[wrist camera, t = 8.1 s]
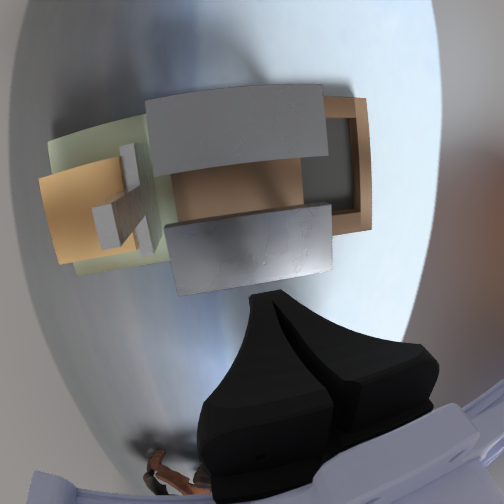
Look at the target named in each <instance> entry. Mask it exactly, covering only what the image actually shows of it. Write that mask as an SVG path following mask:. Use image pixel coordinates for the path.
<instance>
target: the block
mask: <svg viewBox="0 0 504 504" xmlns="http://www.w3.org/2000/svg"><path fill="white" fill-rule="evenodd" d="M39 184H40V190H41V195H42V200H43V205H44V209H45V214H46V218H47V222H48V226H49V230H50V234H51V238H52V241H53V245H54V248H55V252H56V255H57V258H58V262H59V265H60V264H65V263H71V262H76V261H82V260H87V259H93V258H98V257H104V256H110V255H115V254H121V253H127V252H133V251H137V249H138V246H137V241H136V237H135V233H134V230H133V232H132V233H131V234H130V236H129V237H128V238H127V240H126V241H125V242H124V243H123V245H122V246H121V247H117V248H112V249H106V250H101V246H100V242H99V238H98V234H97V230H96V226H95V222H94V217H93V213H92V207H94V206H96V205H97V204H99V203H101V202H102V201H104V200H106V199H107V198H109V197H111V196H113V195H114V194H116V193H118V192H120V191H121V190H123V189H125V188H126V187H125V182H124V176H123V170H122V163H121V156H117V157H113V158H109V159H105V160H101V161H97V162H93V163H89V164H86V165H82V166H79V167H75V168H72V169H68V170H65V171H62V172H58V173H55V174H52V175H49V176H46V177H43V178H40V179H39Z"/></svg>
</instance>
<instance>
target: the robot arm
mask: <svg viewBox="0 0 504 504" xmlns="http://www.w3.org/2000/svg"><path fill="white" fill-rule="evenodd" d="M249 304H250V315H249V321H248V326H247V330H246V333H245V337H244V340H243V343H242V345H241V348H240V350H239V352H238V354H237V356H236V358H235V360H234V362H233V364H232V366H231V368H230V369H229V371H228V372H227V374H226V375H225V377H224V378H223V380H222V381H221V383H220V384H219V385H218V387H217V388H216V389H215V390H214V391H213V393H212V394H211V395H210V396H209V397H208V398H207V399H206V400H205V401H204V403H203V406H202V410H201V413H200V417H199V422H198V428H197V449H198V455H199V458H200V460H201V462H202V463H203V465H204V467H205V468H206V470H207V472H208V473H209V475H210V481H211V489H212V493H210V494H196V495H132V494H119V493H109V492H100V491H92V490H86V489H80V488H76V486H75V485H74V484H73V483H71V482H70V481H68V480H67V479H65V478H63V477H61V476H57V475H52V474H48V473H44V472H40V471H34V473H33V477H32V481H31V485H30V489H29V495H28V499H27V503H26V504H504V495H503V493H502V492H501V490H500V489H499V487H498V486H497V484H496V483H495V481H494V480H493V478H492V477H491V475H490V474H489V473H488V471H487V470H486V468H485V467H486V466H487V465H488V464H490V463H491V462H492V461H493V460H494V459H495V458H496V457H497V456H498V455H499V454H501V453H502V452H503V451H504V379H502V380H501V381H500V382H499V383H497V384H496V385H495V386H493V387H492V388H491V389H489V390H488V391H487V392H485V393H484V394H482V395H481V396H480V397H478V398H477V399H475V400H474V401H472V402H471V403H469V404H468V405H466V406H465V407H463V408H462V409H461V408H460V406H458V405H457V404H455V403H450V404H448V405H445V406H442V407H440V408H438V409H436V410H434V411H431V410H432V409H433V407H434V406H433V404H432V402H431V401H430V400H429V397H430V394H431V392H432V390H433V388H434V386H435V383H436V381H437V378H438V374H439V364H438V362H437V360H436V359H435V358H434V357H433V356H432V355H431V354H430V353H429V352H428V351H427V350H426V349H425V348H424V347H423V346H422V345H421V344H411V343H402V342H394V341H389V340H384V339H379V338H375V337H371V336H367V335H364V334H361V333H358V332H355V331H352V330H349V329H347V328H344V327H342V326H340V325H337V324H335V323H333V322H331V321H329V320H327V319H325V318H323V317H321V316H320V315H318V314H316V313H314V312H313V311H311V310H310V309H308V308H306V307H305V306H303V305H302V304H300V303H299V302H298V301H296V300H295V299H293V298H292V297H291V296H289V295H288V294H287V293H285V292H284V291H282V290H275V291H270V292H264V293H259V294H253V295H251V296H250V297H249Z"/></svg>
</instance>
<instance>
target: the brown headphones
mask: <svg viewBox="0 0 504 504" xmlns="http://www.w3.org/2000/svg"><path fill="white" fill-rule="evenodd" d="M164 455H165V450H162V449H159V450H157V451H156V453H154V455H153V457H150V458H149V461H148V464H147V473H145V474H144V477H143V479H144V482H145V483H146V485H147V487H148V488H149V489H150V490H151V491H152V492H153V493H154V494H155V495H170V494H168V492H167V490H166V485H162V484H160V483H159V482H158V481H157V480H156V478H155V477H154V476H153V475H154V472H155V471H158V472H157V473H156V474H155V475H156V477H157V478H158V479H160V480H162V481H164V482H166V483H168V484H170V485H171V486H173V487H174V488H176V489H177V490H178V491H179V492H181V493H182V494H183V495H196V494H210V493H212V489H211V481H210V475H209V473H208V472H207V470H206V468H205V467H204V465H203V463H202V465H201V466H200V468H199V470H198V471H197V472H196V473H195V475H194V478H193V483H194V484H195V485H194V484H191V483H189V480H190V479H189V478H188V477H185V476H183V475H181V474H180V473H178V472H176V471H173V470H171V469H170V468H168V467H166V466H164V465H162V464H161V461H162V458H163V456H164ZM172 495H174V494H172Z"/></svg>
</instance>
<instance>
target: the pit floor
mask: <svg viewBox="0 0 504 504" xmlns="http://www.w3.org/2000/svg"><path fill="white" fill-rule="evenodd" d="M326 129H327V141H328V154H329V156H315V157H301V158H300V161H301V173H302V187H303V201H304V204H309V203H318V202H327V203H329V204H331V211H338V210H347V209H353V176H352V157H351V141H350V129H349V119H341V118H328V119H326Z"/></svg>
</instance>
